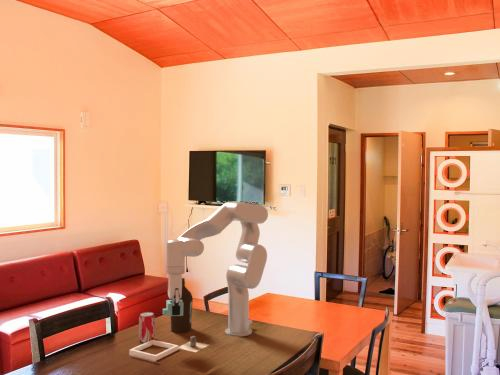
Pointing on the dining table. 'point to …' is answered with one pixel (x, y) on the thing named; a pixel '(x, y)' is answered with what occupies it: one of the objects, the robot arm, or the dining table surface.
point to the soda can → (146, 327)
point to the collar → (169, 308)
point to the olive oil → (183, 322)
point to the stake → (193, 345)
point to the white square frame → (151, 357)
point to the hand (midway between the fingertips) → (175, 312)
